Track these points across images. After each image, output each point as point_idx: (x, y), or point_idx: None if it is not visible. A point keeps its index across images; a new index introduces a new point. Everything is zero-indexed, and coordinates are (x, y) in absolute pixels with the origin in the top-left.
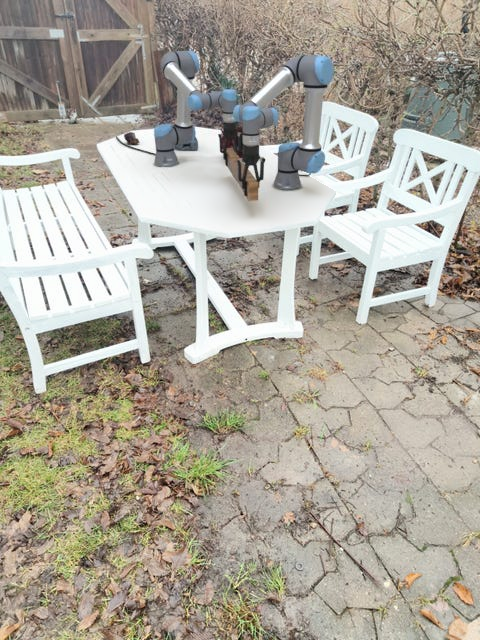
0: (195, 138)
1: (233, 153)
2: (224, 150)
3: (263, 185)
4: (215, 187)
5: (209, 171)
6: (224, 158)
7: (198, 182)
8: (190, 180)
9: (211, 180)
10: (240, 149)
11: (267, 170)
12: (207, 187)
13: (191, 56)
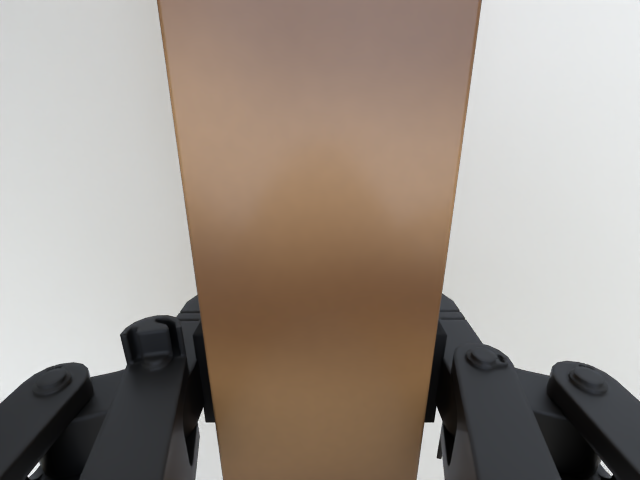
0: None
1: (281, 140)
2: (522, 412)
3: (20, 4)
4: (504, 56)
5: (427, 449)
6: (441, 304)
7: (595, 236)
8: (633, 297)
9: (475, 263)
10: (12, 412)
11: (6, 397)
12: (576, 75)
13: None
